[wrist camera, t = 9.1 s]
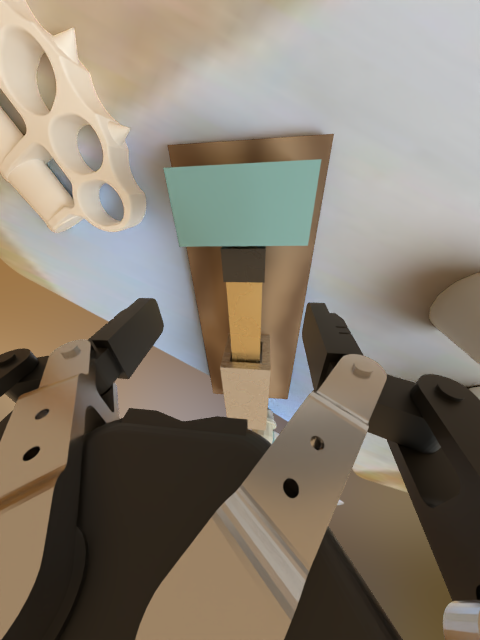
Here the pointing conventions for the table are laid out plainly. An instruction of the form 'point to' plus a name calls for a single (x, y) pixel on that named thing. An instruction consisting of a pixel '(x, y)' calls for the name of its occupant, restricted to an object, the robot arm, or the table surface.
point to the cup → (460, 314)
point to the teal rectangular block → (244, 203)
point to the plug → (244, 298)
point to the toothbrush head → (269, 428)
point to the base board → (280, 262)
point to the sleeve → (247, 385)
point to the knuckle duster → (59, 129)
